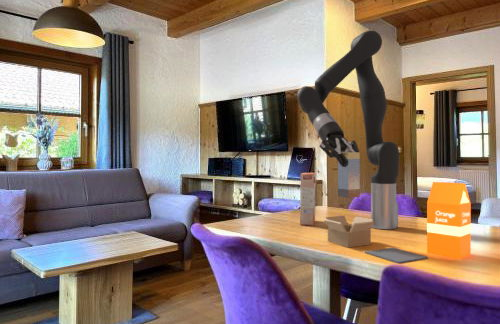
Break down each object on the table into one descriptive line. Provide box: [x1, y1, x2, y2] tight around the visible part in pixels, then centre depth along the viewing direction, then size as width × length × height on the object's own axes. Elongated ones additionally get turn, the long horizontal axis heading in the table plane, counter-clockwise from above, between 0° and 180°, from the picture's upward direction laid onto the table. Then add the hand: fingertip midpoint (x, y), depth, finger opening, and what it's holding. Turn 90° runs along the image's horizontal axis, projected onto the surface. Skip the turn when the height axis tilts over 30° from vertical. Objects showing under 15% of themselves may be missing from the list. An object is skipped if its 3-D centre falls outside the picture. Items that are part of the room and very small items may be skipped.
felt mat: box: [364, 247, 429, 264], centre depth 103 cm, size 11×12×1 cm
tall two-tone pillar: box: [337, 151, 361, 199], centre depth 119 cm, size 4×5×14 cm
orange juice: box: [426, 181, 472, 260], centre depth 105 cm, size 8×9×20 cm
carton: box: [323, 215, 374, 248], centre depth 119 cm, size 14×14×8 cm
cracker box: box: [299, 172, 316, 227], centre depth 156 cm, size 14×6×21 cm, turn 168°
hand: (351, 164), depth 117 cm, fingers closed on tall two-tone pillar, 4 cm apart
